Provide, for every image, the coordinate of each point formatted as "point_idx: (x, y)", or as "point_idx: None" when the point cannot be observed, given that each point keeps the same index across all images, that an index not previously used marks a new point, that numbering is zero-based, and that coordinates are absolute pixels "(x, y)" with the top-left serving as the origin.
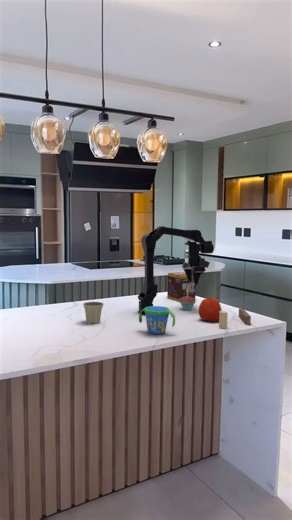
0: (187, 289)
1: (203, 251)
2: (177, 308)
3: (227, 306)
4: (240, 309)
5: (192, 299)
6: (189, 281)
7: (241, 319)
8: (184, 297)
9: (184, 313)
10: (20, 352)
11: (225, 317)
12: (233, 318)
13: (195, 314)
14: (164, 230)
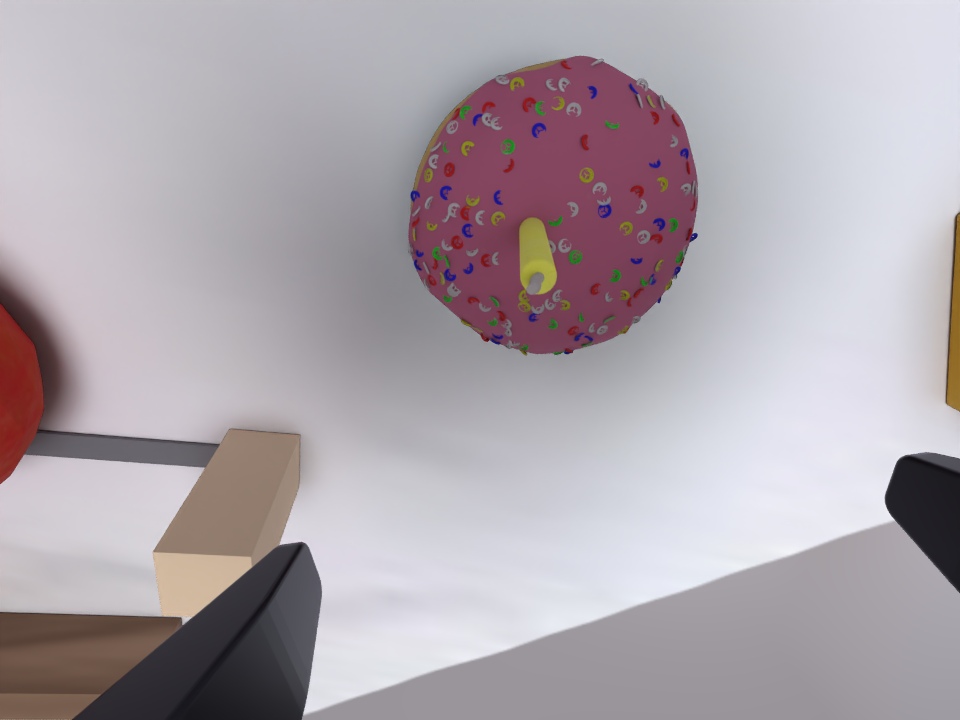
0: (523, 267)
1: None
2: (619, 58)
3: (591, 613)
4: (93, 698)
5: (464, 305)
6: (915, 480)
7: (47, 616)
8: (538, 164)
9: (277, 92)
10: None
11: None
12: (90, 570)
13: (226, 243)
14: None
